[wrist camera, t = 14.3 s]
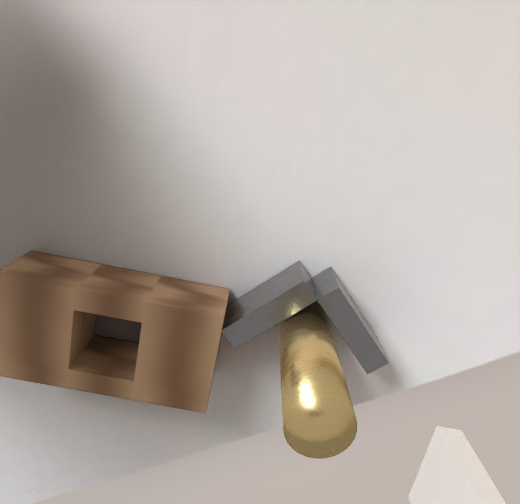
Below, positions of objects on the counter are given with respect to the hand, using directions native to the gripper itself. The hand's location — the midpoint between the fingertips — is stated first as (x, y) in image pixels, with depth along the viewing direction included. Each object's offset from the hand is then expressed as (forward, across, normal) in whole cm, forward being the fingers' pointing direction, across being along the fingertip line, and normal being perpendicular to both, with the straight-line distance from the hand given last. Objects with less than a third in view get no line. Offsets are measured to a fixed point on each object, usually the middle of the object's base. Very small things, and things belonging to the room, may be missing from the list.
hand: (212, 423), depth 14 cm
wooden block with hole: (+28, -8, -12) cm, 32 cm away
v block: (+28, +7, -7) cm, 30 cm away
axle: (+28, +7, -9) cm, 30 cm away
